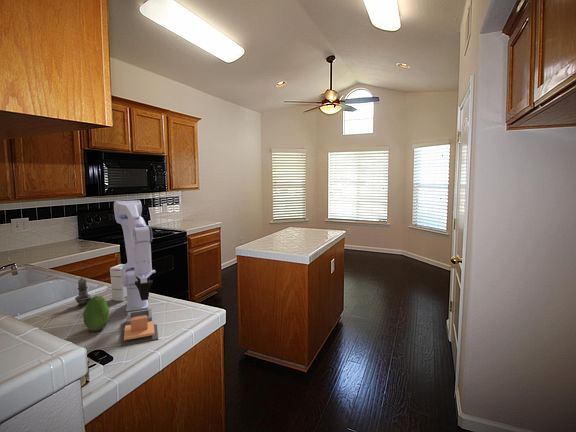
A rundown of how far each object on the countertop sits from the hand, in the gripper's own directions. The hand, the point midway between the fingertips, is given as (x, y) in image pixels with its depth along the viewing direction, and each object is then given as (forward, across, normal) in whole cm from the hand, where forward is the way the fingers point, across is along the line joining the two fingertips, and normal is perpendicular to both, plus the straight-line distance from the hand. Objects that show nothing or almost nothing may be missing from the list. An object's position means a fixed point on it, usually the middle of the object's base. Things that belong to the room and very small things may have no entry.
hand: (144, 296), depth 118 cm
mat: (+9, -11, +2) cm, 15 cm away
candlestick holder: (+10, +25, +23) cm, 35 cm away
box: (+9, -1, +2) cm, 10 cm away
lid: (+8, -11, +2) cm, 14 cm away
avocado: (+10, -1, +16) cm, 18 cm away
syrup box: (+10, +27, +9) cm, 30 cm away
